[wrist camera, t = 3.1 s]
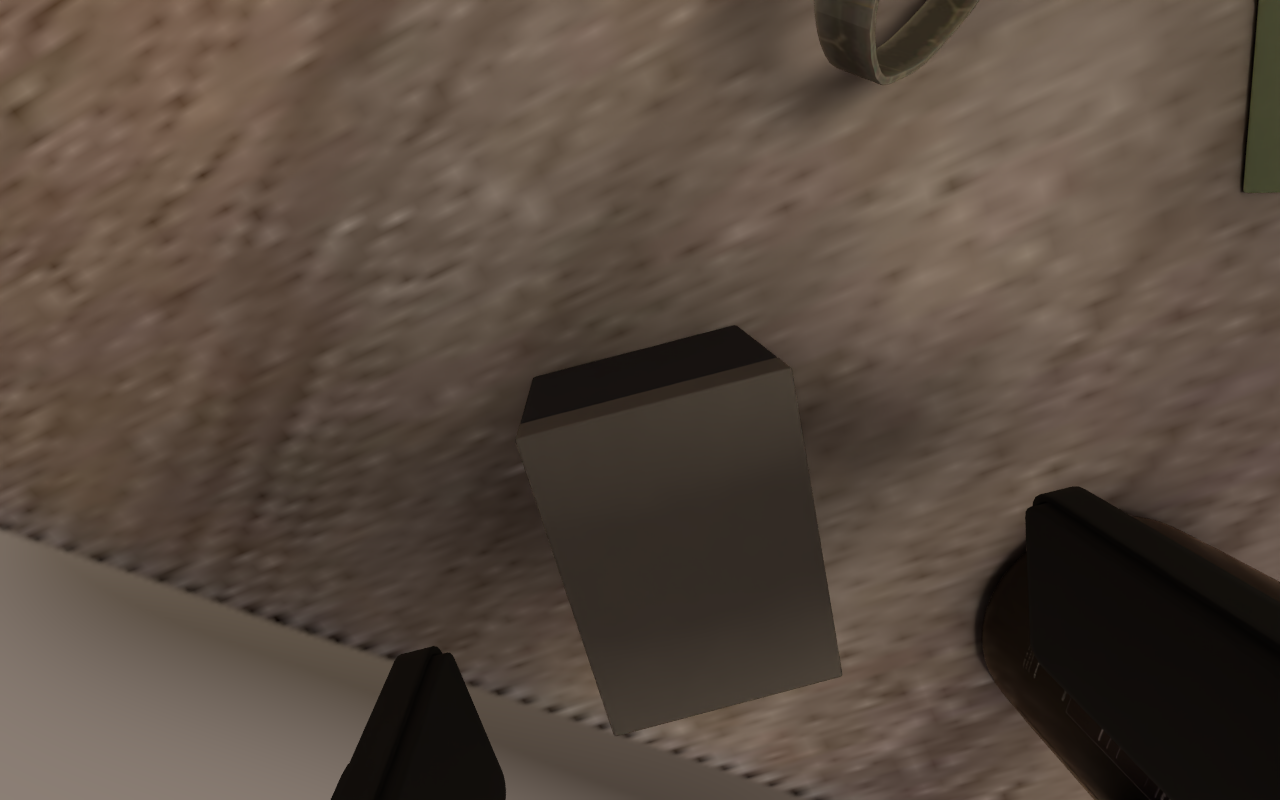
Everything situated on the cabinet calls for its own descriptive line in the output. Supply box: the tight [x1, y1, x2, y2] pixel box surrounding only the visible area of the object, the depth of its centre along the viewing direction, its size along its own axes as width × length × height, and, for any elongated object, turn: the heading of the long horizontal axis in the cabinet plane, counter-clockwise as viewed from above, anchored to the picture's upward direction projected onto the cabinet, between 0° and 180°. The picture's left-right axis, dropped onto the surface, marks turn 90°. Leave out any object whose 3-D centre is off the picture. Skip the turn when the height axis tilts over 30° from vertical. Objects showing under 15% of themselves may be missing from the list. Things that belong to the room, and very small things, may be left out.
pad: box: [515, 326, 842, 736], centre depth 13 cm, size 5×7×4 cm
